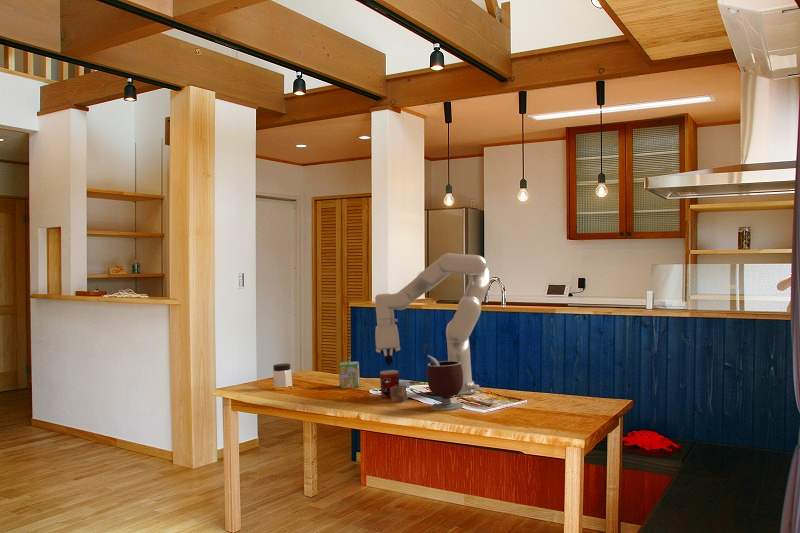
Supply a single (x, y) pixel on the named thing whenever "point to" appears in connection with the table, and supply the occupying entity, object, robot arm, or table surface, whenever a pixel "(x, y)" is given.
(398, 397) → the walnut block
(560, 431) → the table surface
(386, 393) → the canned food
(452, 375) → the mate gourd
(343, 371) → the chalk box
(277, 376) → the jar
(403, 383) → the slate block
